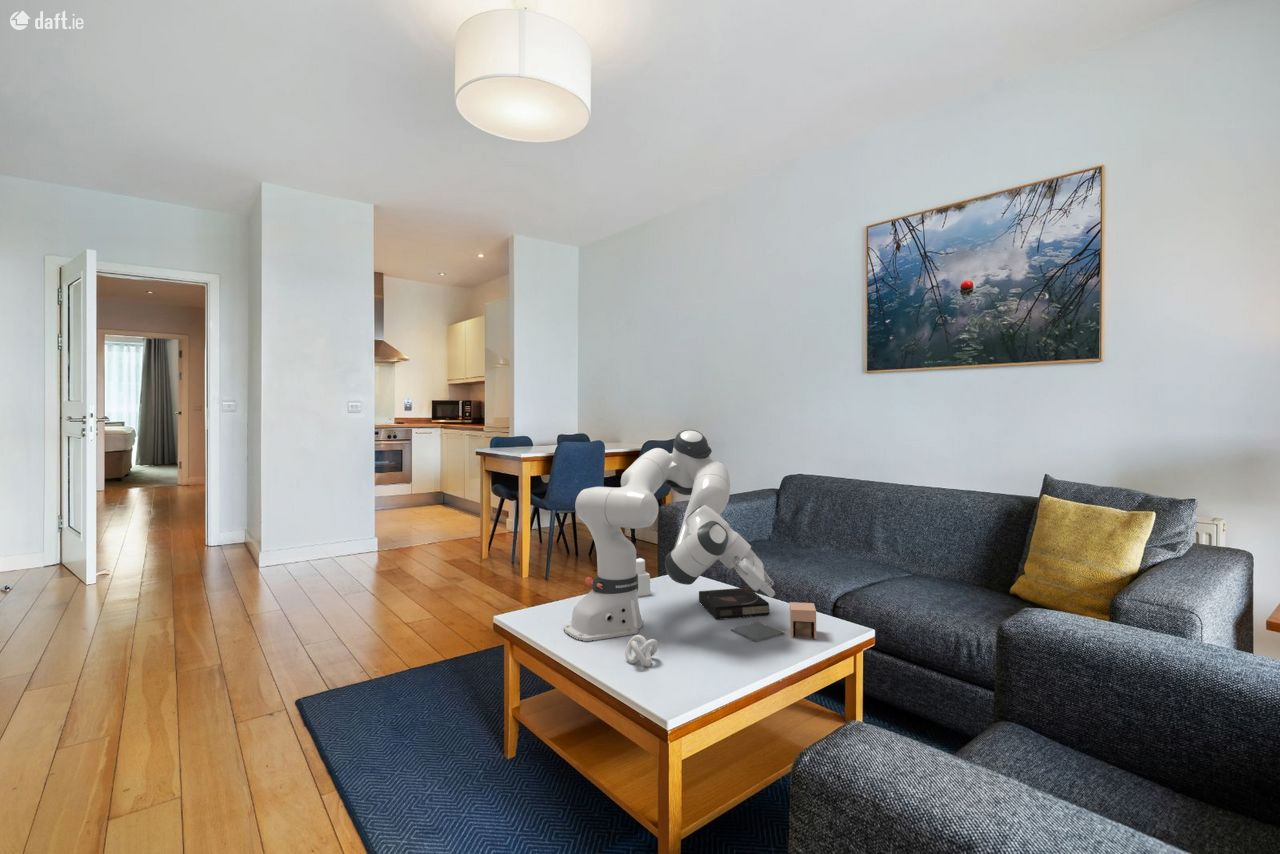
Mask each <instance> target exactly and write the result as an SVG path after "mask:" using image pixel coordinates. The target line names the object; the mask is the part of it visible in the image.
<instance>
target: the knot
mask: <svg viewBox="0 0 1280 854" xmlns="http://www.w3.org/2000/svg"><path fill="white" fill-rule="evenodd" d="M638 642H639V643H640V644H641V647H640V646H639V645H638ZM658 649H659V642H658V641H657V640H656V639H654V638H650V639H648V640H647V639H646V637H644V636H643V635H642V634H634V635H633V636H632V637H631V638H630V639H629V640H628V642H627V645H626V647H625V660H626V661H627V662H628V663H629V664H631V665H635V664H637V663H639V662H640V663H641V665H643V666H645V667H647V668H648V667H650V666H651V665H652V663H653V661H652V660H653V659H652V657H653V656H654V655H656V652H657V651H658ZM632 651H633V652H634V656H632Z"/></svg>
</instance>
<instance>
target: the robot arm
mask: <svg viewBox="0 0 1280 854" xmlns="http://www.w3.org/2000/svg"><path fill="white" fill-rule="evenodd" d="M672 447H673V448H672V453H669V452H668V451H667V450H665V449H664V448H660V447H655V448H652V449H650V450H648V451H646V452H644V453H643V454H642V455H640V456H639V457H638V458H637V459H635V460H634V461H633V463H632V464H631V465H630V466H628V468H626V469H625V471H624V472H622V474H621V476H620V477H621V478H620V487H613V486H612V487H611V486H593V487H588V488H584V489H582V490H581V491H580V492H579V493H578V495H577V497H576V498H575V499H576V500H575V503H574V504H575V505H574V507H575V508H574V509H575V513H576V515H577V517H578V519H580V520H581V521H582V522H583V524H585V526H586V527H587V529H588V530H589V532H590V534H591V537H592V539H593V541H594V542H593V543H594V545H595V551H596V563H597V564H596V566H597V567H596V568H597V574H596V576H595V578H592V577H590V576H587V577H586V578H585V581H584V582H585V584H586V585H589V586H591V587H592V588H591V590H590V591H589V592H588V593H587V594H586V595H585V596H584V597H582V598H581V599H580V600H579V601H578V602H577V603H576V604H575V605H574V607H573V609H572V615H571V621H569V622H566V623H564V625H563V631H564V630H565V631H564V632H565V633H566V634H567V633H568V634H569V635H570V636H569V635H568V634H567V635H568V636H569V637H571V636H572V637H571V638H573V637H574V638H573V639H575V638H576V640H578V639H579V640H578V641H581V640H583V641H582V642H592V640H593V641H599V640H604V639H611V638H616V637H617V638H618V637H623V636H630V635H637V634H638V633H639V630H640V629H641V628H642V626H643V625H644V621H643V619H642V615H641V611H640V605H639V597H638V595H637V592H638V574H637V573H636V557H637V549H636V547H635V544H634V543H633V542H632V541H631V540H629V539H628V538H627V537H626V536H625V534H624V533H623V530H622V529H621V528H624V529H625V528H626V529H641V528H642V529H643V528H648V527H651V526H652V525H653V524H654V523H655V522H656V520H657V518H658V515H659V502H658V500H657V498H656V496H655V493H657V492H658V490H659V489H660V488H661V487H662V485H663V484H664V483H665V484H666V485H667V486H668V487H669V488H670V489H672V490H673V491H674V492H676V493H677V494H680V495H681V496H682V495H683V496H690V498H689V501H688V505H687V507H686V509H685V513H684V516H683V519H682V521H681V524H680V527H679V530H678V532H677V535H676V539H675V543H674V545H673V548H672V550H671V551H670V552H669V553H667V554H666V555H665V558H664V565H665V566H664V567H665V570H666V573H667V575H668V577H669V578H670V579H671V581H672V580H673V581H674V582H675V583H677V584H680V585H693V584H694V583H695V582H696V580H698V579H699V578H700V576H701V575H702V574H703V573H705V572H706V571H707V570H708V569H709V568H710V567H711V566H712V565H713V564H715V563H716V562H717V561H718V560H719V561H720V562H721V564H723V565H724V566H725V567H726V568H727V570H731V569H733V568H734V570H735V571H736V573H737V575H739V576H740V578H742V580H743V581H744V582H745V584H747V585H748V586H749V587H750V589H751V590H752V591H754V592H757V591H759V590H760V591H761V592H763V593H764V594H766V595H767V596H768V597H769V598H770V599H771V598H773V597H774V596H775V595H776V592H775V590H774V589H773V588H772V586H774V581H773V580H772V579H771V577H770V576H769V575H768V574H767V572H766V571H765V570H764V567H765V566H764V563H763V562H762V560H761V559H760V558H759V557H758V556H757V555H756V553H755V552H754V551H753V549H751V548H752V545H751V544H749V542H748V541H747V540H745V539H744V538H743V536H741V534H739V533H738V532H737V531H735V530H734V529H733V528H731V525H729V523H728V521H726V520H725V519H724V518H723V517H722V516H721V514H722V513H723V512H724V511H725V509H726V507H727V505H728V502H729V500H730V493H731V479H730V474H729V471H728V469H727V467H726V466H725V465H724V464H723V463H721V462H719V461H717V460H712V459H711V457H710V456H711V454H712V452H713V451H712V448H711V447H710V446H709V443H708V440H707V438H706V437H705V435H703V434H702V432H701V431H698V430H696V429H695V430H694V429H684V430H682V431H680V432H678V433H677V434H676V436H675V438H674V440H673V446H672Z"/></svg>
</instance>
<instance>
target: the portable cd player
mask: <svg viewBox="0 0 1280 854" xmlns="http://www.w3.org/2000/svg"><path fill="white" fill-rule="evenodd" d="M699 602H700V603H701V604H702V605H701V604H700V603H699ZM698 603H699V604H700V605H701V606H702V607H703V606H704V607H703V609H704V610H706V611H707V612H708V613H709V614H710V616H712V618H714V620H716V619H718V620H725V619H724V618H729V619H738V618H739V617H741V618H750V616H753V617H763V616H770V605H769V604H770V603H769V602H768V601H766V599H764V598H763V597H762V596H761V595H759V594H757V593H756V591H754V590H753V589H752V588H749V587H739V588H727V589H726V588H725V589H723V588H721V589H711V590H699V591H698Z"/></svg>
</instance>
